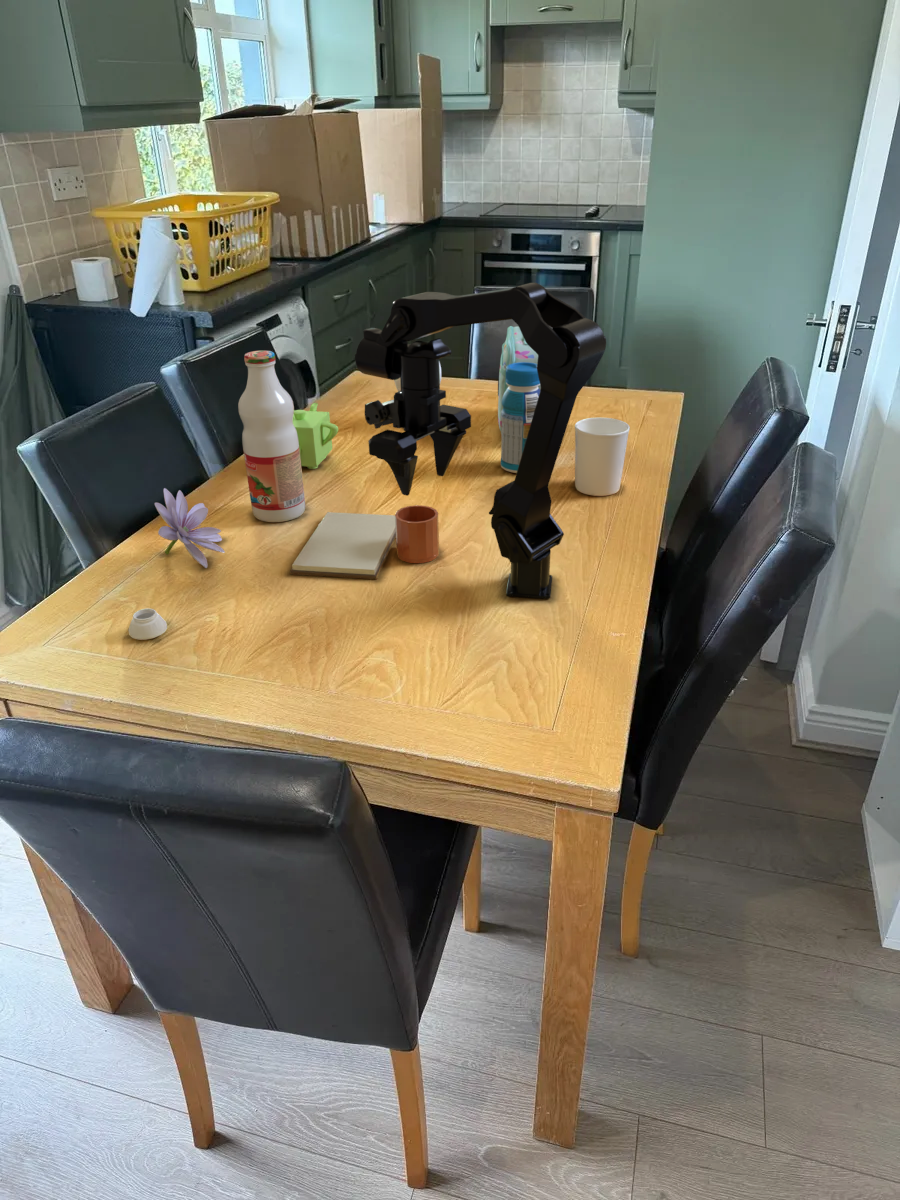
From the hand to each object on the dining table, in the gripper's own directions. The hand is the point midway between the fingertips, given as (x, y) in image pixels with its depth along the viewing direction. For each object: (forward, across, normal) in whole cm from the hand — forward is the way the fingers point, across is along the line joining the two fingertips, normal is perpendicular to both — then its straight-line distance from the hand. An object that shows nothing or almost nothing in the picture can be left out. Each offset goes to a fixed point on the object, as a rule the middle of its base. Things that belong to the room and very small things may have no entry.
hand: (423, 485), depth 130 cm
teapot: (+12, -20, -44) cm, 50 cm away
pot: (+11, +2, 0) cm, 12 cm away
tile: (+11, +6, -11) cm, 17 cm away
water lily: (+12, +21, -30) cm, 39 cm away
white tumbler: (+12, -39, +12) cm, 42 cm away
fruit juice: (+12, +2, -31) cm, 33 cm away
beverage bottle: (+12, -40, -6) cm, 42 cm away
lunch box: (+12, -62, -18) cm, 66 cm away
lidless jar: (+12, +41, -18) cm, 46 cm away
